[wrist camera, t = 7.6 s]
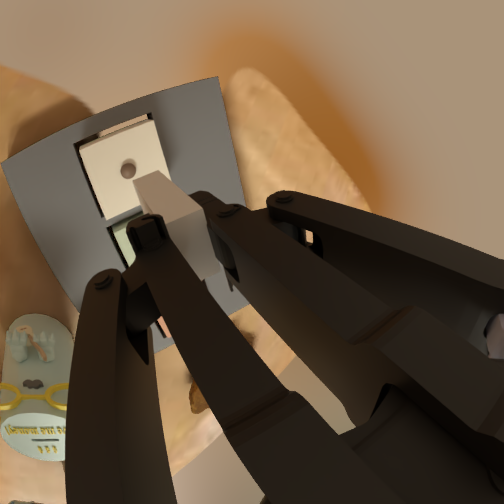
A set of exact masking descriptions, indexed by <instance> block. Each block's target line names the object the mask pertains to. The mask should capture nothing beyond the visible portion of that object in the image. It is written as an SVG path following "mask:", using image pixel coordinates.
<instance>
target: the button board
mask: <svg viewBox="0 0 504 504" xmlns="http://www.w3.org/2000/svg"><path fill="white" fill-rule="evenodd" d="M144 114H147V117H148V120H154V124H155V127H156V131H157V134H158V138H159V141H160V145H161V148H162V151H163V155H164V158H165V162H166V165H167V168H168V172H169V175H170V178H171V181H172V182H173V183H174V184H175V185H176V186H178V187H179V188H180V189H181V190H182V191H183V192H185V193H186V194H187V195H190V194H192V193H195V192H197V191H200V190H201V191H208V192H210V193H211V194H213V195H214V196H215V197H217V198H218V199H220V200H221V201H222V202H224V203H225V204H232V203H234V204H241V205H243V206H245V207H246V204H245V199H244V195H243V190H242V185H241V181H240V176H239V172H238V167H237V162H236V158H235V153H234V148H233V144H232V139H231V134H230V130H229V125H228V121H227V116H226V111H225V107H224V102H223V97H222V93H221V88H220V84H219V79H218V76H217V77H212V78H207V79H203V80H199V81H195V82H191V83H187V84H183V85H180V86H176V87H173V88H170V89H166V90H162V91H159V92H156V93H153V94H150V95H147V96H143V97H140V98H138V99H135V100H132V101H129V102H126V103H123V104H121V105H118V106H115V107H113V108H110V109H108V110H105V111H103V112H100V113H98V114H95V115H93V116H90V117H88V118H86V119H84V120H81V121H79V122H77V123H75V124H72V125H70V126H68V127H66V128H64V129H62V130H60V131H58V132H56V133H54V134H52V135H50V136H48V137H46V138H44V139H42V140H40V141H38V142H36V143H34V144H32V145H31V146H29V147H27V148H25V149H24V150H22V151H20V152H18V153H17V154H15V155H13V156H11V157H10V158H8V159H7V160H5V161H4V162H2V163H1V166H2V169H3V171H4V174H5V176H6V179H7V181H8V184H9V186H10V189H11V191H12V193H13V196H14V198H15V200H16V202H17V205H18V207H19V209H20V211H21V213H22V215H23V217H24V220H25V222H26V224H27V226H28V228H29V230H30V232H31V234H32V235H33V237H34V239H35V241H36V243H37V245H38V247H39V249H40V250H41V252H42V254H43V256H44V258H45V259H46V261H47V263H48V265H49V266H50V268H51V270H52V271H53V273H54V275H55V276H56V278H57V280H58V281H59V283H60V284H61V286H62V288H63V289H64V291H65V292H66V294H67V295H68V297H69V299H70V300H71V302H72V303H73V305H74V306H75V307H76V309H77V310H78V312H79V313H80V310H81V306H82V301H83V296H84V292H85V288H86V285H87V283H88V282H89V280H90V279H91V278H92V277H93V276H94V275H95V274H96V273H98V272H100V271H103V270H106V269H110V268H114V269H118V270H119V271H120V272H121V273H122V272H124V271H125V270H126V269H127V267H126V265H125V263H124V261H123V259H122V257H121V255H120V253H119V251H118V249H117V246H116V244H115V242H114V240H113V238H112V236H111V233H110V231H109V229H108V226H110V225H113V224H115V223H117V222H119V221H121V220H123V219H125V218H127V217H130V216H132V215H134V214H136V213H138V212H141V211H143V210H142V207H141V205H139V206H136V207H134V208H132V209H130V210H128V211H125V212H123V213H121V214H119V215H117V216H115V217H113V218H111V219H108V220H106V218H105V216H104V213H103V211H102V209H100V208H99V206H98V204H97V201H96V199H95V196H94V194H93V191H92V189H91V186H90V184H89V181H88V179H87V176H86V173H85V171H84V168H83V165H82V163H81V160H80V157H79V154H78V151H77V149H76V146H75V143H76V142H78V141H80V140H82V139H85V138H87V137H89V136H91V135H94V134H96V133H98V132H101V131H103V130H105V129H108V128H110V127H112V126H115V125H118V124H120V123H123V122H125V121H128V120H130V119H133V118H136V117H139V116H142V115H144ZM218 263H219V266H220V269H221V271H220V272H218V273H216V274H214V275H212V276H210V277H207V278H205V279H203V280H201V281H202V283H203V284H204V285H205V287H206V288H207V289H208V291H209V292H210V293H211V295H212V296H213V297H214V299H215V300H216V301H217V303H218V304H219V305H220V307H221V308H222V309H223V311H224V312H225V313H226V315H227V316H228V315H230V314H232V313H234V312H236V311H238V310H239V309H241V308H243V307H245V306H247V305H249V304H250V303H249V302H248V301H247V300H246V298H245V297H244V296H243V295H242V294H241V293H240V292H239V291H238V289H237V288H236V287H235V286H234V285H233V290H234V291H233V292H231V291H230V288H229V285H228V281H227V278H226V275H225V271H224V268H223V265H222V264H221V263H220V262H219V260H218ZM150 327H151V329H152V334H153V348H154V354H155V353H157V352H159V351H161V350H163V349H165V348H167V347H169V346H171V345H173V344H175V342H174V340H173V338H172V337H170V338H168V337H167V336H166V334H165V332H164V331H163V329H162V327H161V325H157V323H156V321H155V322H154V323H153V324H152V325H150Z"/></svg>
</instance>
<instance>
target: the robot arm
mask: <svg viewBox="0 0 504 504" xmlns="http://www.w3.org/2000/svg"><path fill="white" fill-rule="evenodd" d="M132 182H133V185H134V187H135V190H136V193H137V196H138V199H139V201H140V204H141V207H142V210H143V212H144V215H142V216H140V217H138V218H136V219H133V220H131V221H129V222H128V224H127V226H126V235H127V237H128V239H129V242H130V244H131V246H132V248H133V251H134V253H135V255H136V257H135V260H134V262H133V263H132V264H131V266H130V267H129V268H127V269H126V270H125V271H124V272H122V273H121V272H120V271H119V270H118V269H114V268H110V269H106V270H103V271H100V272H98V273H96V274H95V275H94V276H93V277H92V278H91V279H90V280H89V282H88V283H87V285H86V288H85V292H84V296H83V301H82V306H81V310H80V315H79V320H78V325H77V331H76V337H75V343H74V349H73V355H72V362H71V370H70V378H69V387H68V398H67V410H66V427H65V460H63V461H62V464H63V469H64V472H65V484H66V500H67V504H177V500H176V495H175V491H174V486H173V482H172V477H171V472H170V467H169V462H168V456H167V451H166V445H165V439H164V433H163V426H162V420H161V413H160V405H159V397H158V389H157V380H156V370H155V359H154V348H153V334H152V329H151V327H150V325H152V324H153V323H154V322H155V321H156V320H158V319H159V318H160V317H161V316H162V318H163V320H164V322H165V324H166V326H167V328H168V330H169V332H170V334H171V336H172V338H173V340H174V342H175V344H176V346H177V348H178V350H179V352H180V354H181V356H182V358H183V360H184V362H185V364H186V366H187V368H188V370H189V371H190V373H191V375H192V377H193V379H194V381H195V382H196V384H197V386H198V388H199V390H200V391H201V393H202V395H203V397H204V399H205V400H206V402H207V404H208V405H209V407H210V409H211V411H212V412H213V414H214V416H215V417H216V419H217V421H218V422H219V424H220V426H221V427H222V429H223V432H224V434H225V436H226V437H227V439H228V441H229V442H230V444H231V446H232V447H233V449H234V451H235V452H236V454H237V455H238V457H239V458H240V460H241V461H242V463H243V464H244V466H245V467H246V468H247V470H248V472H249V473H250V474H251V476H252V477H253V479H254V480H255V482H256V483H257V484H258V486H259V487H260V489H261V490H262V491H263V493H264V494H265V496H264V498H263V499H262V501H261V502H260V504H504V260H503V259H498V258H496V257H494V256H491V255H489V254H486V253H484V252H481V251H479V250H476V249H474V248H471V247H468V246H466V245H463V244H461V243H458V242H455V241H453V240H450V239H447V238H444V237H442V236H439V235H436V234H433V233H430V232H427V231H424V230H422V229H419V228H416V227H413V226H410V225H407V224H404V223H401V222H398V221H395V220H392V219H389V218H386V217H382V216H379V215H376V214H373V213H370V212H367V211H363V210H360V209H357V208H353V207H350V206H346V205H343V204H340V203H336V202H333V201H329V200H325V199H322V198H318V197H315V196H311V195H307V194H303V193H300V192H296V191H285V190H283V191H278V192H276V193H274V194H271V195H270V196H269V197H267V200H266V204H267V208H263V209H259V210H254V211H251V210H249V209H248V208H246V207H245V206H243V205H241V204H234V203H232V204H225V203H224V202H222V201H221V200H220V199H218V198H217V197H215V196H214V195H213V194H211V193H210V192H208V191H201V190H200V191H197V192H195V193H192V194H190V195H187V194H186V193H185V192H183V191H182V190H181V189H180V188H179V187H178V186H176V185H175V184H174V183H173V182H172V181H171V180H169V179H168V178H167V177H166V176H165V175H164V174H163V173H161V172H160V171H159V170H157V171H154V172H152V173H149V174H147V175H144V176H142V177H139V178H137V179H135V180H132ZM306 230H308V231H311V232H313V243H310V242H307V241H306ZM218 260H219V262H220V263H221V264H222V265H223V268H224V271H225V275H226V278H227V281H228V285H229V288H230V291H231V292H233V291H234V290H233V285H234V286H235V287H236V288H237V289H238V291H239V292H240V293H241V294H242V295H243V296H244V297H245V298H246V300H247V301H248V302H249V303H250V304H251V305H252V306H253V307H254V309H255V310H256V311H257V312H258V313H259V314H260V315H261V316H262V317H263V319H264V320H265V321H266V322H267V323H268V324H269V325H270V326H271V327H272V329H273V330H274V331H275V332H276V333H277V334H278V335H279V336H280V337H281V338H282V339H283V341H284V342H285V343H286V344H287V345H288V346H289V347H290V348H291V349H292V350H293V351H294V353H295V354H296V355H297V356H298V357H299V358H300V359H301V360H302V361H303V362H304V363H305V364H306V365H307V366H308V367H309V369H310V370H311V371H312V372H313V373H314V374H315V375H316V376H317V377H318V378H319V379H320V380H321V381H322V382H323V383H324V384H325V386H327V388H328V389H329V390H330V391H331V392H332V393H333V394H334V395H335V396H336V397H337V398H338V399H339V400H340V401H341V403H342V404H343V406H344V407H345V410H346V412H347V415H348V417H349V418H350V420H351V421H352V423H353V424H354V425H355V426H356V428H354V429H351V430H349V431H347V432H345V433H343V434H340V435H338V434H337V433H336V432H335V431H334V430H333V429H332V428H331V427H330V426H329V425H328V423H327V422H326V421H325V420H324V419H323V418H322V417H321V416H320V415H319V414H318V412H317V411H316V410H315V409H314V408H313V407H312V406H311V405H310V403H309V402H308V401H307V400H305V398H304V397H303V396H301V395H300V394H299V393H297V392H296V391H289V390H288V389H286V388H285V387H284V386H283V384H281V382H280V381H279V380H278V379H277V377H276V376H275V375H274V374H273V372H272V371H271V370H270V369H269V368H268V366H267V365H266V364H265V363H264V361H263V360H262V359H261V358H260V357H259V355H258V354H257V353H256V352H255V350H254V349H253V348H252V347H251V345H250V344H249V343H248V342H247V340H246V339H245V338H244V336H243V335H242V334H241V333H240V331H239V330H238V329H237V327H236V326H235V325H234V324H233V322H232V321H231V320H230V318H229V317H228V316H227V315H226V313H225V312H224V311H223V309H222V308H221V307H220V305H219V304H218V303H217V301H216V300H215V299H214V297H213V296H212V295H211V293H210V292H209V291H208V289H207V288H206V287H205V285H204V284H203V283H202V281H201V280H203V279H205V278H207V277H210V276H212V275H214V274H216V273H218V272H220V271H221V269H220V266H219V263H218ZM9 504H42V503H35V502H34V501H31V502H25V501H17V500H13V501H11V502H9Z"/></svg>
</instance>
